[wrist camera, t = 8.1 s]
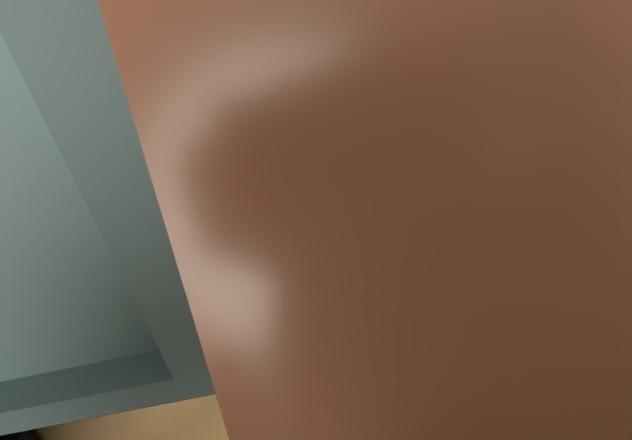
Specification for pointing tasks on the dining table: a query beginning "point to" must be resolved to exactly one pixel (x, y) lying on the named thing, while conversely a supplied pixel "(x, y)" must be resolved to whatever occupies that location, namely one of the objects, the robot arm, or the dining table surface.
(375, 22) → the salmon orange rectangular block
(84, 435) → the dining table surface
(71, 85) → the jig
